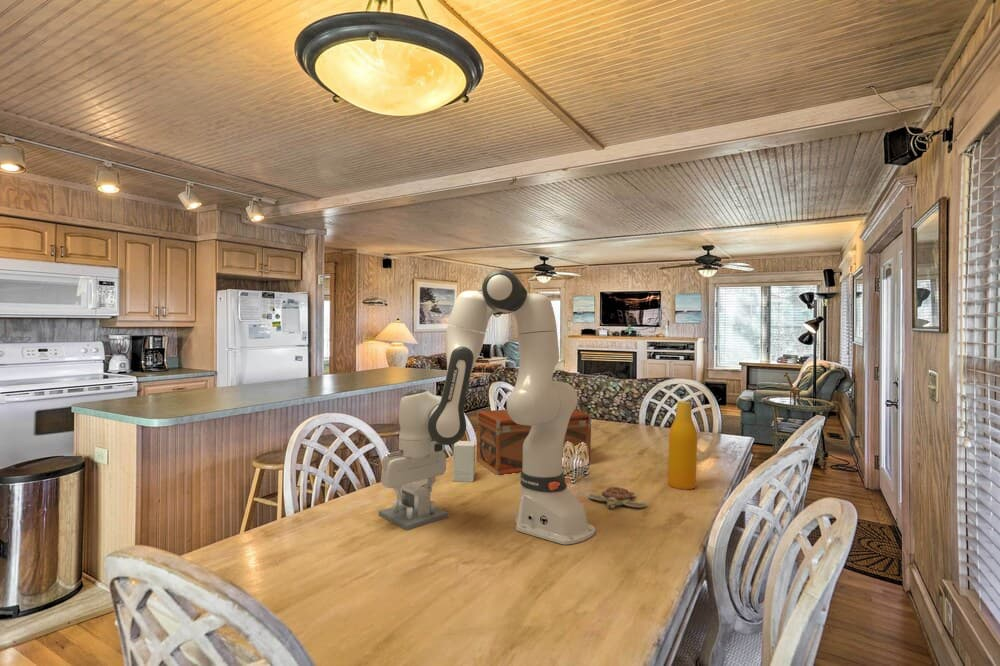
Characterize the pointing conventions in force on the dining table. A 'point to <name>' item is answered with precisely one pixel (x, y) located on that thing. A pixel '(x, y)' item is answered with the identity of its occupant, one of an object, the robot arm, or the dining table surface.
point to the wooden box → (517, 439)
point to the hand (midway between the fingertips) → (414, 496)
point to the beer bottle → (682, 449)
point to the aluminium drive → (415, 499)
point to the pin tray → (414, 521)
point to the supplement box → (464, 461)
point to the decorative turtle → (617, 497)
